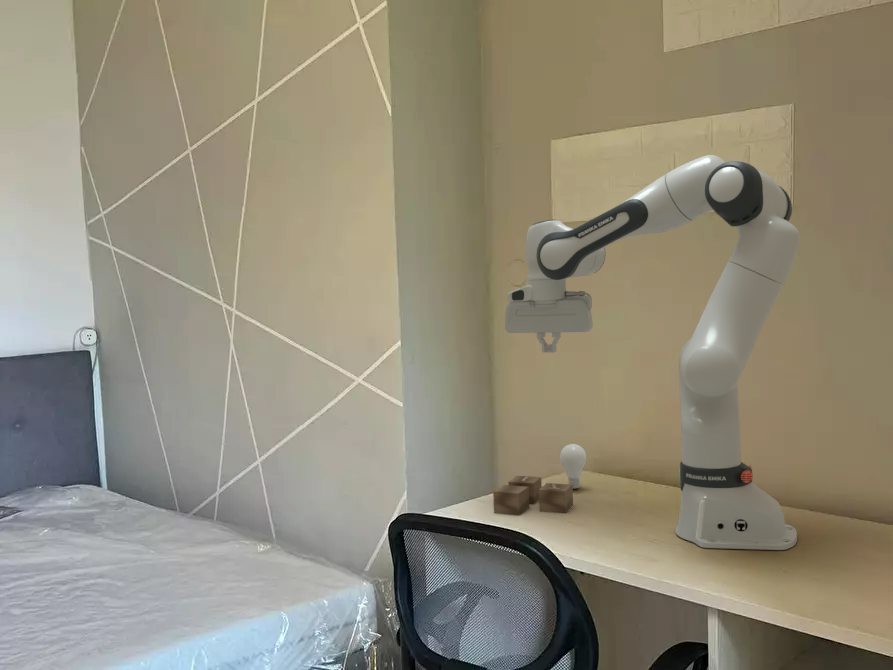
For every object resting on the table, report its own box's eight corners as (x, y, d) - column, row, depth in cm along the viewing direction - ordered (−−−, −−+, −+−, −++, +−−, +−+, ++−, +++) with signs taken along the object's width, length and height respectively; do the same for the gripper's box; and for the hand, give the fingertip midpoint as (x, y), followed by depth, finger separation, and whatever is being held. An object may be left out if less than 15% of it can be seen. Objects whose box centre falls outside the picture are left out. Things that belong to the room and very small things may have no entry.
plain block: (529, 508, 198) (528, 486, 198) (519, 516, 193) (518, 493, 192) (505, 506, 201) (504, 484, 200) (494, 513, 196) (493, 491, 195)
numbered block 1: (542, 498, 207) (541, 476, 206) (534, 504, 201) (533, 482, 201) (517, 496, 209) (516, 475, 208) (509, 503, 203) (508, 481, 203)
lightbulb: (556, 487, 214) (554, 443, 214) (580, 484, 216) (578, 440, 215) (567, 493, 208) (566, 447, 208) (592, 490, 210) (590, 445, 209)
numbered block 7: (573, 506, 198) (572, 483, 198) (566, 513, 193) (565, 490, 192) (547, 504, 201) (546, 482, 200) (539, 512, 195) (538, 489, 195)
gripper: (595, 289, 201) (597, 350, 202) (510, 292, 209) (513, 350, 210) (587, 291, 195) (589, 353, 196) (500, 294, 204) (503, 353, 205)
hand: (549, 352), depth 203 cm, fingers closed
